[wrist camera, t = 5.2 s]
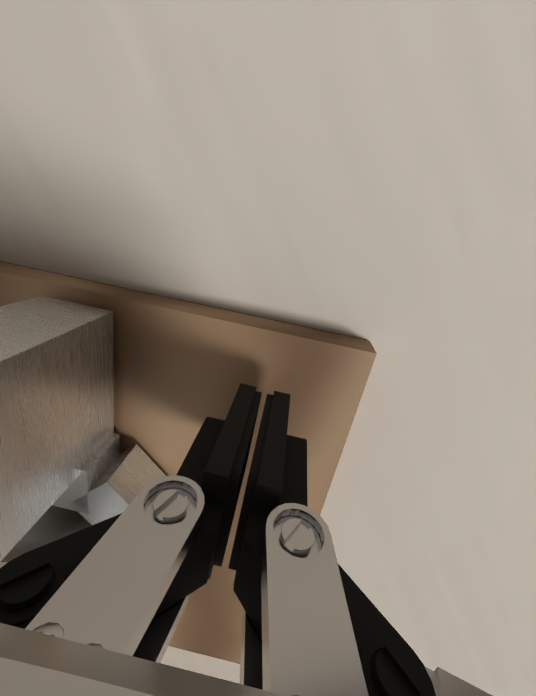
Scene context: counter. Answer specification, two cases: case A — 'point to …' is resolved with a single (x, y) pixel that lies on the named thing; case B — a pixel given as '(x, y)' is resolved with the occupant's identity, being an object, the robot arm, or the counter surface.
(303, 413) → the post base
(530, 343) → the counter surface
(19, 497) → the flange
